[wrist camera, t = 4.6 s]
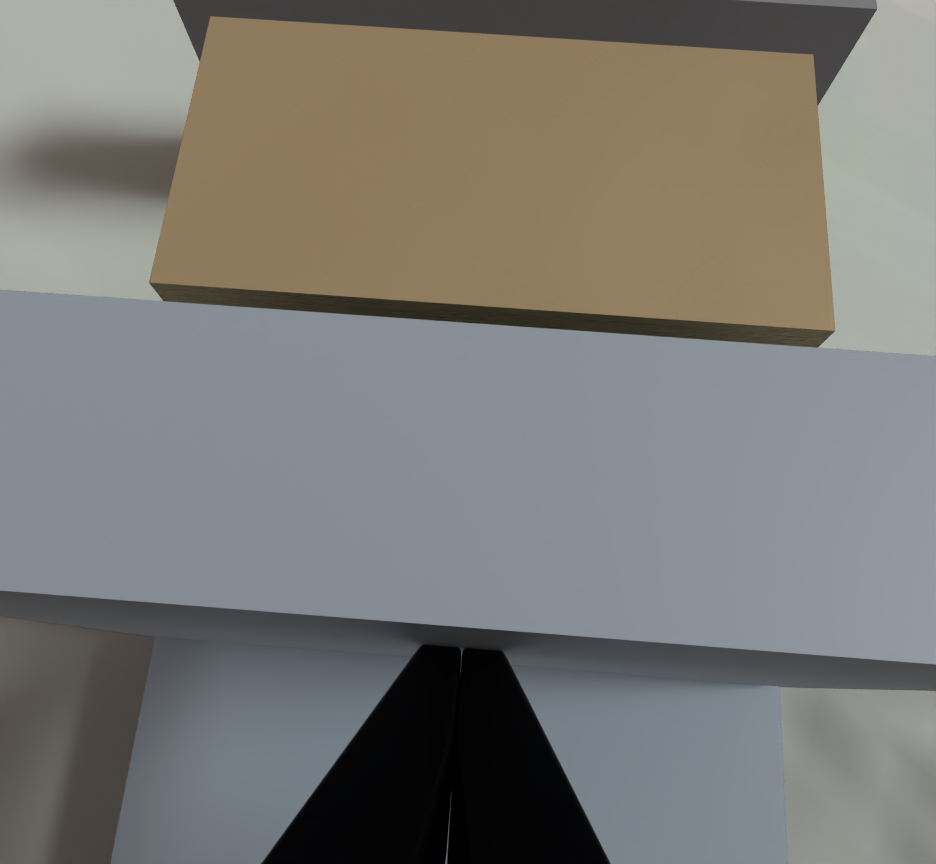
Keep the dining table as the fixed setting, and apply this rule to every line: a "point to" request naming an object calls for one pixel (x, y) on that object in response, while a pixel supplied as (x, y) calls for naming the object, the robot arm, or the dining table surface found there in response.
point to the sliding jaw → (469, 491)
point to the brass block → (502, 183)
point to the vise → (370, 676)
